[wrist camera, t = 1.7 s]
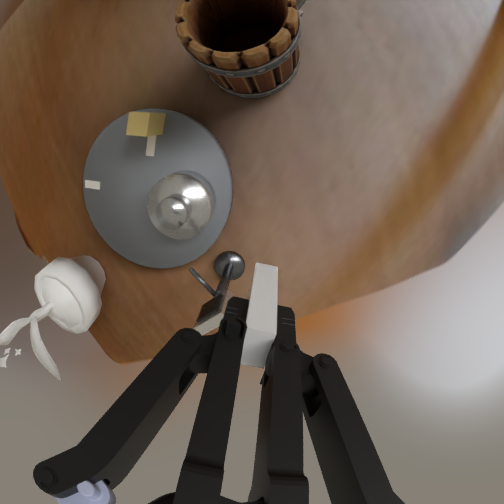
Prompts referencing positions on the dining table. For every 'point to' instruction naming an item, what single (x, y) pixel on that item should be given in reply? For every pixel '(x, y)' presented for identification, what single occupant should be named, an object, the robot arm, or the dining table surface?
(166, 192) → the cover
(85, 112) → the dining table surface
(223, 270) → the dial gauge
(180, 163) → the turntable
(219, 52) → the mug
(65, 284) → the potted plant
